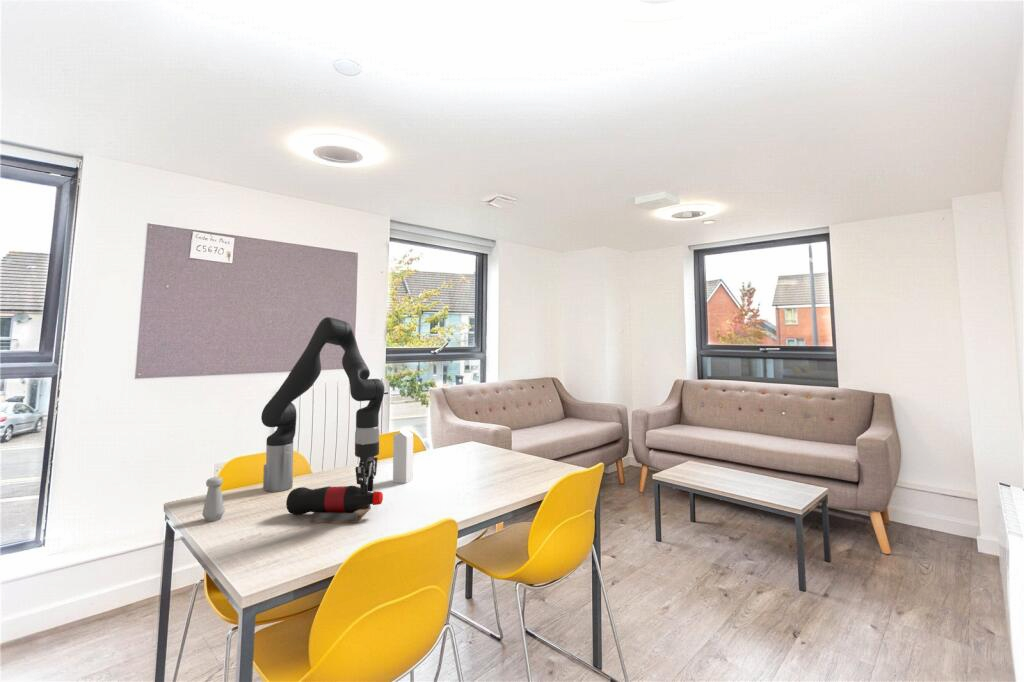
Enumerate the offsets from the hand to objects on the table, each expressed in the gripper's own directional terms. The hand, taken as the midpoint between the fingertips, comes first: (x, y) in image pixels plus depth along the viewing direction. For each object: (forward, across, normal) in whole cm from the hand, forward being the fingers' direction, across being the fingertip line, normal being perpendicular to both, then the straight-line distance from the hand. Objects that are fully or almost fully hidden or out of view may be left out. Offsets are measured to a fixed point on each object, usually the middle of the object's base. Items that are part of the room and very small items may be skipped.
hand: (366, 493), depth 144 cm
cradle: (+7, 0, -8) cm, 11 cm away
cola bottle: (+3, 0, -25) cm, 25 cm away
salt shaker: (+7, +5, -47) cm, 48 cm away
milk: (+7, -39, +1) cm, 40 cm away
